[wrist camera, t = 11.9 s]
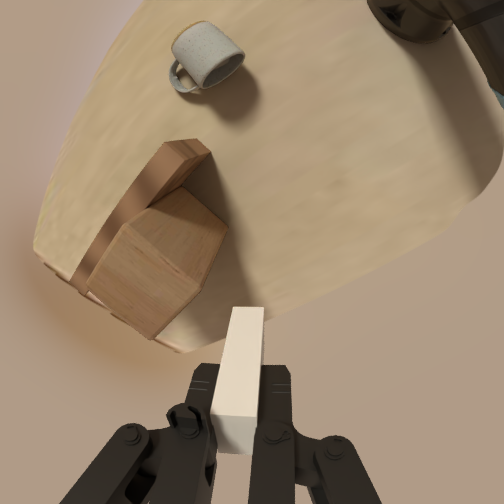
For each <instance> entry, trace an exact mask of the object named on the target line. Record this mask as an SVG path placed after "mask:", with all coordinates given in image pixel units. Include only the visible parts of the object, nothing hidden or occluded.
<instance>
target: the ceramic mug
mask: <svg viewBox="0 0 504 504" xmlns="http://www.w3.org/2000/svg"><path fill="white" fill-rule="evenodd" d="M171 49H172V53H173V55H174V57H175V58H176V59H175V60H174V61H173V62H172V64H171V66H170V69H169V79H170V82H171V84H172V85H173V87H174V88H175V89H176V90H177V91H179V92H182V93H188V92H193V91H196V90H198V89H200V88H202V89H207V88H210V87H212V86H214V85H216V84H218V83H220V82H221V81H223V80H224V79H226V78H227V77H228V76H230V75H231V74H232V73H233V72H234V71H235V70H236V69H237V68H238V67H239V66H240V65H241V64H242V63H243V61H244V59H245V53H244V52H243V51H242V50H241V49H240V48H239V47H238V46H237V45H236V44H235V43H234V42H233V41H232V40H231V39H230V38H229V37H228V36H226V35H225V34H224V33H223V32H222V31H221V30H220V29H219V28H218V27H216V26H215V25H213V24H212V23H210V22H208V21H199V22H195V23H193V24H191V25H189V26H187V27H186V28H184V29H183V30H182V31H181V32H180V33H179V34H178V35H177V36H176V38H175V39H174V41H173V43H172V47H171ZM179 63H180V64H181V65H182V66H183V67H184V68H185V69H186V71H187V72H188V73H189V75H190V76H191V77H192V78H193V79H194V81H195V82H196V83H197V86H195V87H193V88H191V89H189V90H188V89H186V88H184V87H183V85H182V84H181V83H180V81H179V80H178V77H177V76H176V69H177V67H178V65H179Z"/></svg>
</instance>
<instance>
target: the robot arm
mask: <svg viewBox="0 0 504 504" xmlns="http://www.w3.org/2000/svg"><path fill="white" fill-rule="evenodd" d="M367 3H368V5H369V7H370V9H371V11H372V12H373V14H374V15H375V16H376V18H377V19H378V20H379V21H380V22H381V23H382V24H383V25H384V26H385V27H386V28H387V29H389V30H390V31H391V32H393V33H394V34H396V35H397V36H399V37H401V38H403V39H406V40H408V41H411V42H415V43H431V42H434V41H436V40H439V39H441V38H442V37H444V36H445V35H446V34H447V33H448V32H449V30H450V28H451V26H452V25H453V23H454V24H455V26H456V27H457V29H458V30H459V32H460V33H461V35H462V36H463V38H464V39H465V41H466V43H467V44H468V46H469V47H470V49H471V51H472V52H473V54H474V56H475V57H476V59H477V61H478V63H479V64H480V66H481V68H482V70H483V72H484V74H485V75H486V77H487V82H488V84H489V87H490V88H491V89H492V91H493V92H494V93H495V95H496V97H497V99H498V101H499V103H500V105H501V107H502V108H503V109H504V0H367ZM263 359H264V307H233V310H232V314H231V319H230V323H229V328H228V332H227V337H226V342H225V346H224V351H223V355H222V360H221V364H210V363H201V364H200V365H199V366H198V367H197V368H196V369H195V370H194V373H193V376H192V381H191V383H190V387H189V390H188V393H187V396H186V400H185V403H181V404H178V405H175V406H173V407H172V408H171V409H169V411H168V412H167V414H166V416H167V419H168V421H169V424H170V427H167V428H163V429H155V430H147V429H146V428H145V427H143V426H142V425H140V424H136V423H130V424H126V425H123V426H121V427H120V428H119V429H118V430H117V431H116V432H115V434H114V435H113V436H112V437H111V439H110V440H109V441H108V442H107V444H106V445H105V446H104V447H103V449H102V450H101V451H100V453H99V454H98V455H97V457H96V458H95V459H94V460H93V461H92V463H91V464H90V465H89V467H88V468H87V469H86V471H85V472H84V473H83V474H82V475H81V477H80V478H79V479H78V481H77V482H76V483H75V484H74V486H73V487H72V488H71V489H70V491H69V492H68V494H66V496H65V497H64V498H63V500H62V501H61V502H60V503H59V504H148V502H149V504H211V498H212V492H213V486H214V480H215V473H216V468H217V461H216V453H217V448H218V452H219V453H230V454H245V455H252V465H251V476H250V488H249V499H248V504H295V484H299V485H303V486H307V488H308V491H309V494H310V497H311V500H312V503H313V504H382V503H381V501H380V499H379V497H378V495H377V492H376V490H375V488H374V486H373V484H372V482H371V480H370V478H369V476H368V474H367V472H366V470H365V468H364V466H363V464H362V462H361V460H360V458H359V456H358V454H357V452H356V449H355V447H354V445H353V444H352V443H351V442H350V441H349V440H348V439H346V438H345V437H342V436H337V435H335V436H328V437H325V438H323V439H321V440H317V439H312V438H309V437H306V436H303V435H302V434H300V433H299V432H297V430H296V429H295V428H294V426H293V422H292V403H291V402H292V401H291V375H290V373H289V371H288V369H287V367H286V366H285V365H263Z"/></svg>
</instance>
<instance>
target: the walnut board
mask: <svg viewBox="0 0 504 504" xmlns="http://www.w3.org/2000/svg"><path fill="white" fill-rule="evenodd" d="M210 152H211V151H210V150H209V149H208V148H206V147H205V146H204V145H203V144H202V143H201V142H200V141H199V140H198V139H186V140H177V141H169V142H164V143H163V145H162V146H161V147H160V148H159V149H158V151H157V152H156V153H155V154H154V156H153V157H152V158H151V159H150V161H149V162H148V163H147V165H146V166H145V167H144V169H143V170H142V171H141V172H140V174H139V175H138V176H137V178H136V179H135V180H134V182H133V183H132V185H131V186H130V187H129V189H128V190H127V191H126V193H125V194H124V196H123V197H122V198H121V200H120V201H119V203H118V204H117V206H116V207H115V209H114V210H113V211H112V213H111V214H110V216H109V217H108V219H107V220H106V222H105V223H104V225H103V226H102V228H101V230H100V231H99V233H98V234H97V236H96V237H95V239H94V241H93V242H92V244H91V245H90V247H89V249H88V250H87V252H86V254H85V255H84V257H83V259H82V260H81V262H80V264H79V265H78V267H77V269H76V271H75V272H74V274H73V276H72V278H71V280H70V281H69V282H70V283H71V284H72V285H73V286H74V287H75V288H76V289H77V290H78V291H79V292H81V293H82V294H83V295H84V296H85V295H86V294H87V292H88V291H89V290H88V289H87V288H86V282H87V280H88V279H89V277H90V275H91V274H92V272H93V270H94V269H95V267H96V265H97V264H98V262H99V261H100V259H101V257H102V256H103V254H104V253H105V251H106V249H107V248H108V246H109V245H110V243H111V242H112V240H113V239H114V237H115V236H116V234H117V233H118V231H119V230H120V228H121V227H122V225H123V224H124V223H126V222H127V221H129V220H130V219H132V218H133V217H135V216H136V215H137V214H139V213H140V212H142V211H143V210H145V209H146V208H148V207H149V206H151V205H152V204H154V203H155V202H157V201H158V200H160V199H161V198H163V197H164V196H166V195H168V194H169V193H171V192H172V191H174V190H175V189H177V188H179V187H180V186H181V185H182V183H183V182H184V181H185V180H186V179H187V178H188V177H189V175H190V174H191V173H192V172H193V171H194V170H195V169H196V167H197V166H198V165H199V164H200V163H201V162H202V161H203V160H204V159H205V157H206V156H207V155H208V154H209V153H210Z"/></svg>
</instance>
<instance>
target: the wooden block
mask: <svg viewBox="0 0 504 504" xmlns="http://www.w3.org/2000/svg"><path fill="white" fill-rule="evenodd" d="M227 230H228V226H227V225H226V224H225V223H224V222H222V221H221V220H220V219H219V218H218V217H217V216H216V215H215V214H213V213H212V212H211V211H210V210H209V209H208V208H207V207H205V206H204V205H203V204H202V203H201V202H200V201H199V200H197V199H196V198H195V197H194V196H193V195H192V194H191V193H189V192H188V191H187V190H186V189H185V188H184V187H182V186H180V187H179V188H177V189H175V190H174V191H172V192H171V193H169V194H168V195H166V196H164V197H163V198H161V199H160V200H158V201H157V202H155V203H154V204H152V205H151V206H149V207H148V208H146V209H145V210H143V211H142V212H140V213H139V214H137V215H136V216H135V217H133V218H132V219H130V220H129V221H127V222H126V223H124V224H123V225H122V227H121V228H120V230H119V231H118V233H117V234H116V236H115V237H114V239H113V240H112V242H111V243H110V245H109V246H108V248H107V249H106V251H105V253H104V254H103V256H102V257H101V259H100V261H99V262H98V264H97V265H96V267H95V269H94V270H93V272H92V274H91V275H90V277H89V279H88V280H87V282H86V288H87V289H88V290H89V291H90V292H91V293H92V294H93V295H95V296H96V297H97V298H98V299H99V300H100V301H101V302H103V303H104V304H105V305H106V306H107V307H108V308H110V309H111V310H112V311H113V312H114V313H116V314H117V315H118V316H119V317H120V318H122V319H123V320H124V321H125V322H126V323H128V324H129V325H130V326H131V327H133V328H134V329H135V330H136V331H138V332H139V333H140V334H142V335H143V336H144V337H145V338H147V339H148V340H153V339H154V338H155V337H156V336H157V335H158V334H159V333H160V332H161V331H162V330H163V329H164V328H165V327H166V326H167V325H168V324H169V323H170V322H171V321H172V320H173V319H174V318H175V317H176V316H177V315H178V314H179V313H180V312H181V311H182V310H183V309H184V308H185V307H186V306H187V305H188V304H189V303H190V302H191V301H192V300H193V299H194V298H195V297H196V296H197V295H198V294H199V293H200V292H201V290H202V287H203V285H204V283H205V280H206V278H207V276H208V273H209V271H210V269H211V266H212V264H213V262H214V259H215V257H216V255H217V252H218V250H219V248H220V246H221V243H222V241H223V239H224V236H225V234H226V232H227Z"/></svg>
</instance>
